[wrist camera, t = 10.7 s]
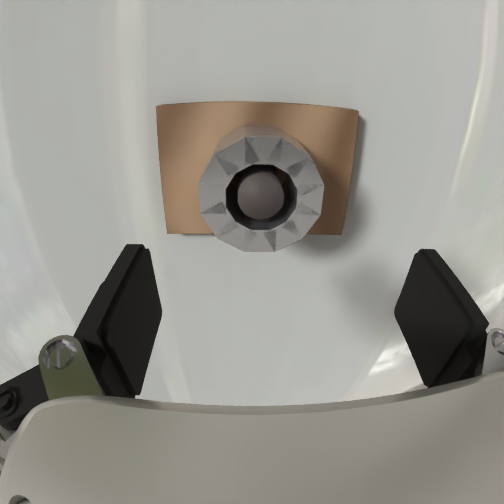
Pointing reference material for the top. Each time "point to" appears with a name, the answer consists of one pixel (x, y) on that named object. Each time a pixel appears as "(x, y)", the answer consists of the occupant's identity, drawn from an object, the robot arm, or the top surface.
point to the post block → (256, 175)
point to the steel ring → (294, 187)
